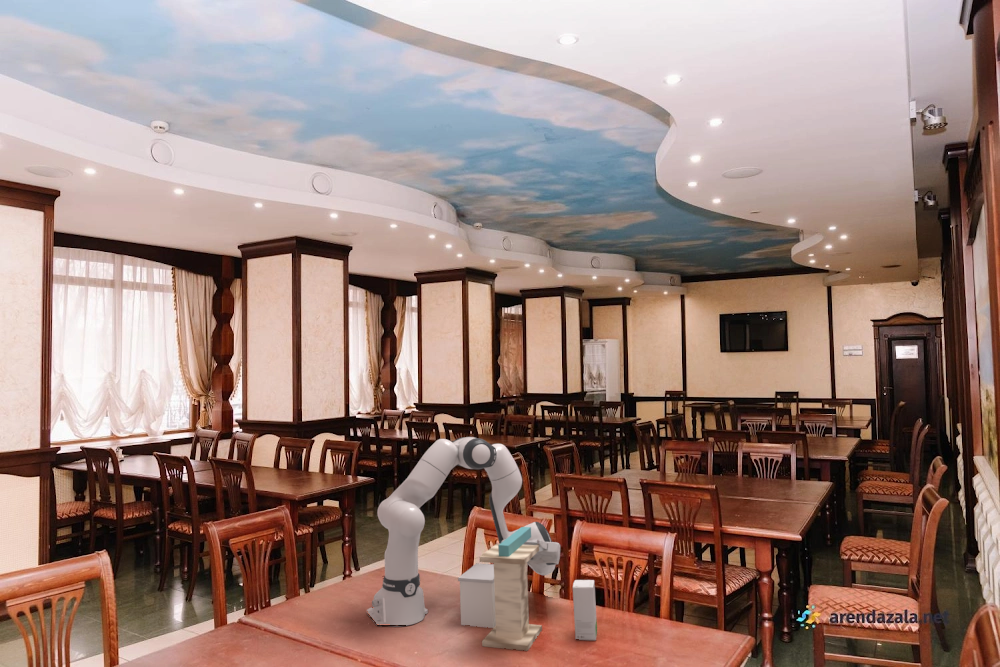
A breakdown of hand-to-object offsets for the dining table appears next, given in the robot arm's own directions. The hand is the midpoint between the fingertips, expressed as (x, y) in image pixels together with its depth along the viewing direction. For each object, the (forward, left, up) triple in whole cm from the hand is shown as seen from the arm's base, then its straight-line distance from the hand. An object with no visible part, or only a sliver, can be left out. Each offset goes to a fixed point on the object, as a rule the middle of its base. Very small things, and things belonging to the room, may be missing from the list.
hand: (524, 541), depth 218 cm
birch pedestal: (+9, -13, -25) cm, 30 cm away
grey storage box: (-10, -10, -25) cm, 29 cm away
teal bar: (+6, -8, +1) cm, 10 cm away
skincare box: (+22, +5, -25) cm, 34 cm away
